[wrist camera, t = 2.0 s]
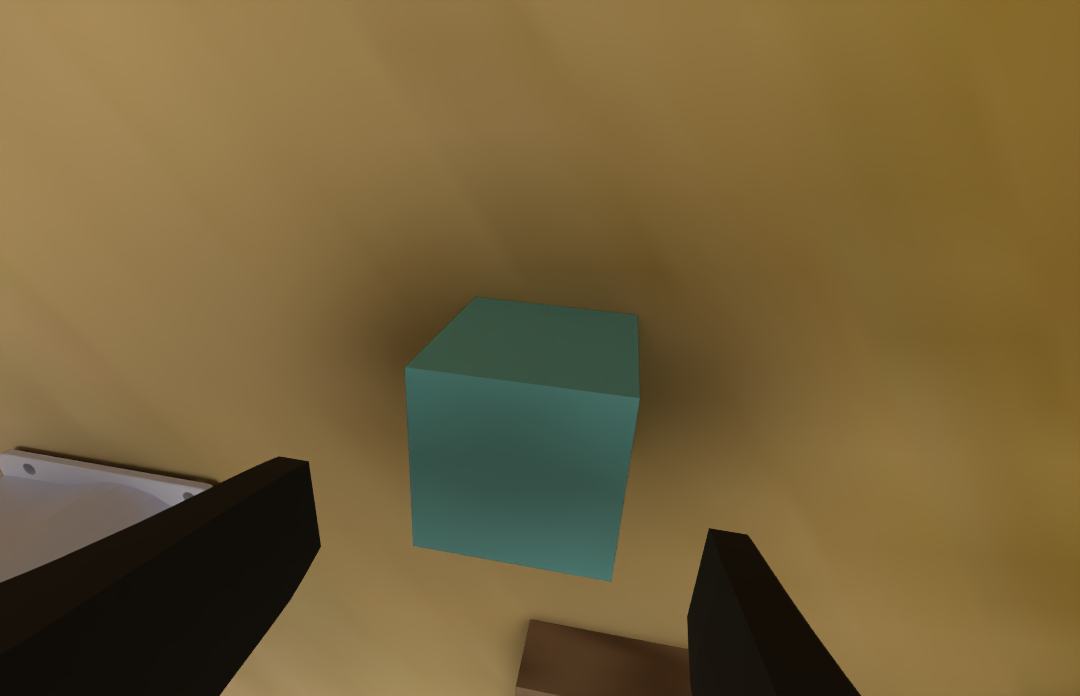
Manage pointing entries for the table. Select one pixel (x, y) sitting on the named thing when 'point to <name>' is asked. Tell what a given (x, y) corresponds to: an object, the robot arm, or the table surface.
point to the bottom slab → (598, 665)
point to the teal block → (524, 434)
